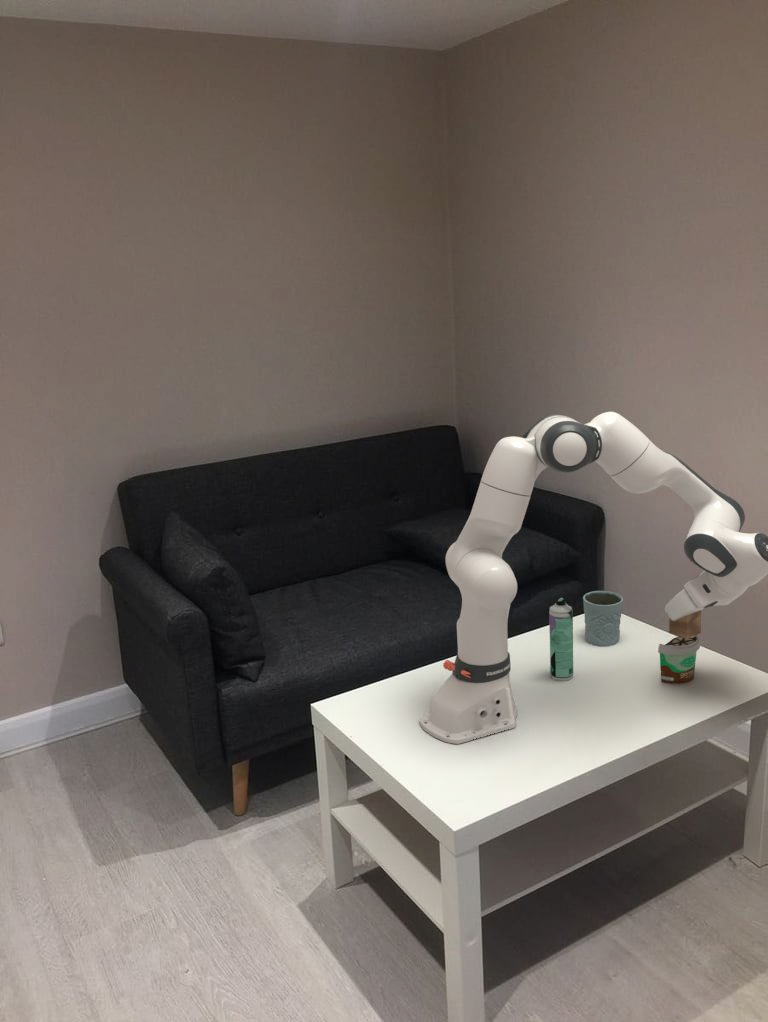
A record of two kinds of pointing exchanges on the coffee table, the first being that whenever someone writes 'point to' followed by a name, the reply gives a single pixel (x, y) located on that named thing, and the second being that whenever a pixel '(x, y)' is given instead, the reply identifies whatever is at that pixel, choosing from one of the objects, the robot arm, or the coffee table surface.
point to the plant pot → (602, 617)
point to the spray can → (561, 641)
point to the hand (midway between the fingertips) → (682, 613)
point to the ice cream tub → (678, 659)
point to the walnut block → (686, 625)
